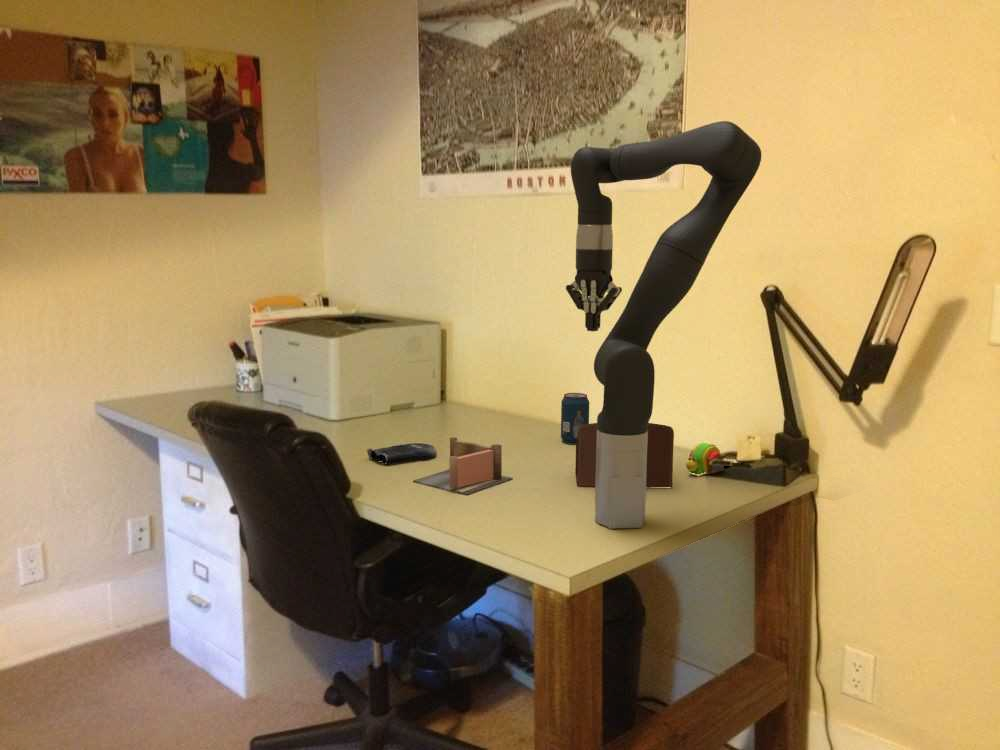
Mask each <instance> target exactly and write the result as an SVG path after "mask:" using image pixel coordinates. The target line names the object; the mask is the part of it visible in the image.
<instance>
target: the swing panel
mask: <svg viewBox="0 0 1000 750" xmlns="http://www.w3.org/2000/svg"><path fill="white" fill-rule="evenodd" d="M449 469H450V488H451V489H455V488H458V487H462V486H465V485H469V484H473V483H477V482H480V481H484V480H488V479H492V478H493V450H485V451H481V452H477V453H473V454H468V455H464V456H460V457H457V456H450V455H449Z"/></svg>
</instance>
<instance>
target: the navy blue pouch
mask: <svg viewBox="0 0 1000 750" xmlns="http://www.w3.org/2000/svg"><path fill="white" fill-rule="evenodd" d="M366 453H367V455H368V459H369V460H372V459H377V460H379V461H381V460H382V459H384V458H385V460H382V461H383V462H379V461H377V462H376V463H379V464H382V463H383V464H382V465H384V466H389V465H396V464H401V463H407V462H418V461H419V462H420V461H427V460H429V459H433V458H434V457H435V456H436V455H437V449H436V447H435V446H434V445H431V444H429V443H417V442H413V443H406V444H397V445H392V446H387V447H381V448H375V449H373V448H371V447H369V448H367V450H366ZM379 458H380V459H381V460H380V459H379ZM385 463H386V464H385Z"/></svg>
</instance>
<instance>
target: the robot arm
mask: <svg viewBox="0 0 1000 750" xmlns="http://www.w3.org/2000/svg"><path fill="white" fill-rule="evenodd" d="M761 162H762V150H761V147H760V146H759V145H758V143H757V142H756V141H755V140H754V138H752V137H751V136H750V135H748V134H747V133H746V132H745V131H744V130H743V129H742V128H741V127H740V126H738V125H737V124H736V123H734V122H731V121H727V120H722V121H716V122H712V123H708V124H705V125H702V126H699V127H698V126H697V127H696V128H693V129H689V130H686V131H683V132H680V133H677V134H674V135H671V136H667V137H664V138H660V139H656V140H650V141H648V140H647V141H641V142H633V143H625V144H621V145H619V146H617V147H614V148H609V147H608V148H607V147H606V148H604V147H593V146H584V147H580V148H579V149H577V151H576V152H575V153H574V154H573V157H572V158H571V162H570V176H571V182H572V186H573V190H574V194H575V198H576V203H577V230H576V237H575V269H576V273H575V274H576V275H575V276H574V281H573V282H572V283H570V284H567V285H566V286H565V290H566V292H567V293H568V295H569V297H570V298H571V300H572V301H573V303H574V305H575V306H576V308H577V310H581V311H583V312H584V315H585V316H584V317H585V320H584V321H585V323H584V326H585V328H586V330H587V332H598V331H599V329H600V328H601V317H602V316H601V315H602V313H603V312H604V311H608V310H609V309H610V308H611V307H612V305H613V304H614V302H615V301H616V300H617V299H618V297H619V296H620V295H621V293H622V291H623V289H622V287H621V286H617V285H616V284H615V283H614V280H613V276H612V269H613V249H614V248H613V243H614V237H613V236H614V234H613V201H612V199H611V198H610V197H609V196H607V195H605V194H603V193H602V191H601V187H600V185H599V184H614V183H620V182H625V181H639V180H649V179H654V178H658V177H660V176H662V175H663V174H664V173H666V172H667V171H668V170H670V169H671V168H672V167H674V166H677V165H692V166H699V167H701V168H702V169H703V170H704V171H705V172H707V173H708V175H710V176H711V180H710V182H709V184H708V186H707V188H706V190H705V192H704V194H703V195H702V197H701V199H700V200H699V202H698V203H697V204H696V205H695V206H694V207H693V208H692V209H691V210H690V211H689V212H687V213H686V214H685V215H683V216H682V217H680V218H679V219H677V220H676V221H674V222H673V224H671V225H670V226H669V227H667V228H666V229H665V230H664V231H663V232H662V233H661V235H660V236H659V238H658V239H657V241H656V243H655V245H654V247H653V249H652V251H651V253H650V255H649V256H648V259H647V261H646V263H645V265H644V267H643V270H642V272H641V273H640V276H639V278H638V280H637V281H636V284H635V285H634V287H633V290H632V292H631V294H630V297H629V299H628V301H627V302H626V305H625V307H624V308H623V310H622V313H621V314H620V316H619V318H618V320H616V323H615V324H614V325H613V327H612V329H611V330H610V332H609V333H608V334H607V336H606V337H605V339H604V341H603V342H602V343H601V345H600V347H598V351H596V355H595V358H594V361H593V371H594V376H595V377H596V379H597V381H598V382H599V383H600V384H601V385H602V386H603V402H602V403H603V404H602V409H601V411H600V412H599V413H598V414H597V417H596V418H597V419H596V423H597V445H596V486H595V487H594V488H595V491H594V492H595V494H594V496H595V497H594V499H595V500H594V520H595V522H596V523H597V524H599V525H602V526H604V527H607V528H608V529H609V530H610V529H635V528H636V529H637V528H638V529H641V528H643V525H644V524H645V522H646V499H647V497H646V496H647V494H646V493H647V488H646V472H647V443H648V423H650V420H651V417H652V414H653V410H654V409H653V408H654V395H655V393H654V392H655V377H656V376H655V374H656V373H655V363H654V359H653V358H652V356H651V353H649V352H648V351H647V350H648V348H649V345H650V344H651V341H652V338H654V337H653V336H654V335H655V333H656V331H657V329H658V328H659V326H660V325H661V324H662V323H663V321H664V320H665V319H666V318H667V316H668V315H669V314H671V313H672V311H674V309H675V308H676V307H677V306H678V305H679V304H680V302H681V301H682V300H683V299H684V298H685V297H686V296H687V294H689V292H690V290H691V289H692V287H693V285H694V284H695V282H696V281H697V277H698V276H699V274H700V272H701V270H702V269H703V266H704V264H705V262H706V260H707V258H708V255H709V253H710V251H711V250H712V248H713V246H714V243H715V242H716V241H717V238H718V236H719V235H720V233H721V231H722V230H723V228H724V226H725V224H726V222H727V220H728V218H729V217H730V216H731V214H732V212H733V210H734V209H735V207H736V206H737V204H738V202H739V201H740V199H741V198H742V197H743V195H744V194H745V192H746V191H747V189H748V187H749V185H750V184H751V183H752V181H753V179H754V178H755V176H756V174H757V173H758V170H759V168H760V165H761ZM606 293H607V294H606ZM605 294H606V295H605Z"/></svg>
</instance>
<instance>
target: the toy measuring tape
mask: <svg viewBox="0 0 1000 750" xmlns="http://www.w3.org/2000/svg"><path fill="white" fill-rule="evenodd" d="M720 451H721V450H720V449H719V448H718V447H717V446H716V444H711V443H708V442H701V443H699V444H697V445H696V446H695V447H694V448H693V449H692V450H691V451H690V453H689V457H688V461H687V462H686V465H685V466H686V469H687V470H688V471H689V472H691V473H695V474H701V473H704V472H706V470H707V466H708V464H709V462H710V461H711V460H713V459H715V458H718V457H721V456H722V454H721V452H720ZM689 472H688V473H689Z"/></svg>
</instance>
